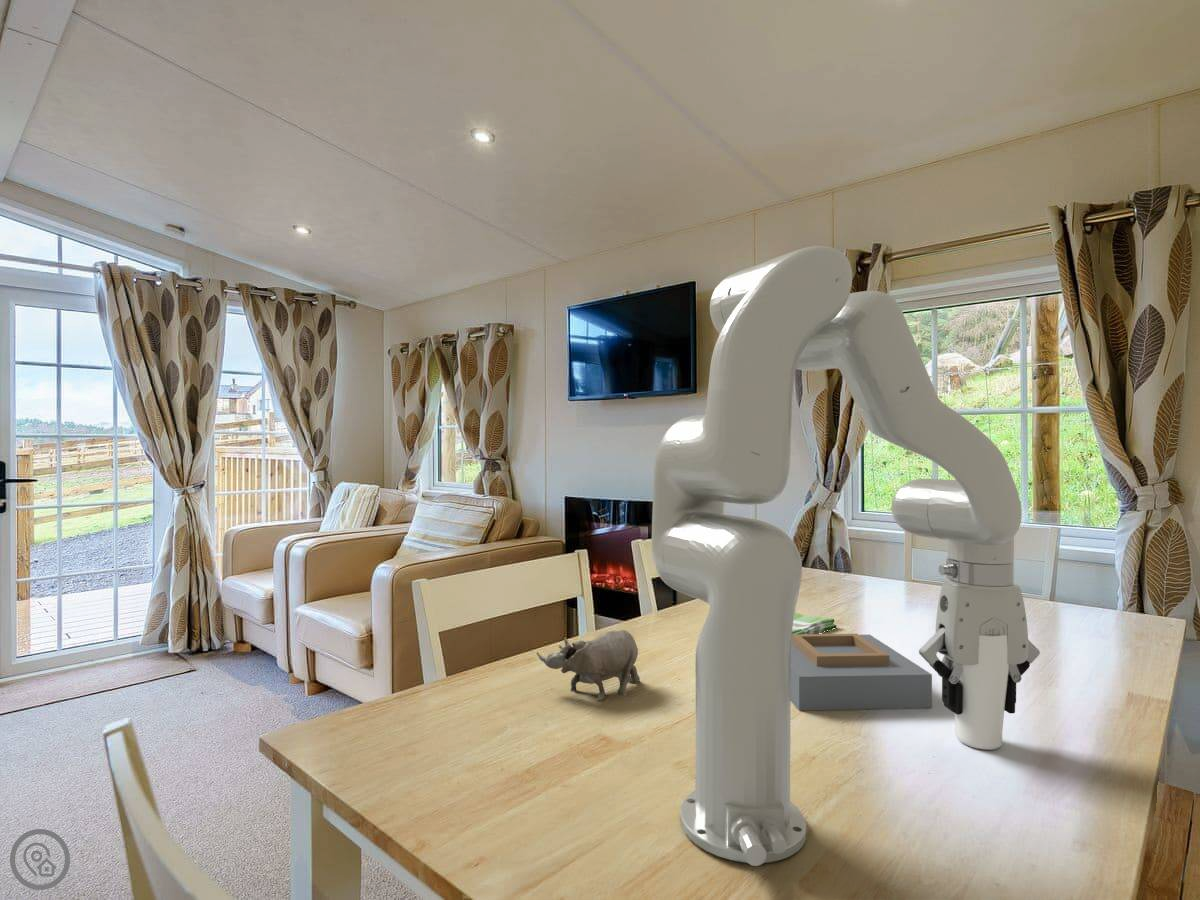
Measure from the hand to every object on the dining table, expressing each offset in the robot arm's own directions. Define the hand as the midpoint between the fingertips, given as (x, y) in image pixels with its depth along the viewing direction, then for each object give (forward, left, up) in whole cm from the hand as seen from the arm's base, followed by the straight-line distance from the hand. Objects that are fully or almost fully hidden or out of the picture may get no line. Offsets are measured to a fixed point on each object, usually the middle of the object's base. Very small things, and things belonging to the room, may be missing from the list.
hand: (978, 708), depth 85 cm
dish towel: (+52, +11, -5) cm, 53 cm away
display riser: (+21, +10, -4) cm, 24 cm away
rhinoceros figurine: (+20, +50, -5) cm, 54 cm away
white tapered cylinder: (0, 0, -5) cm, 5 cm away
